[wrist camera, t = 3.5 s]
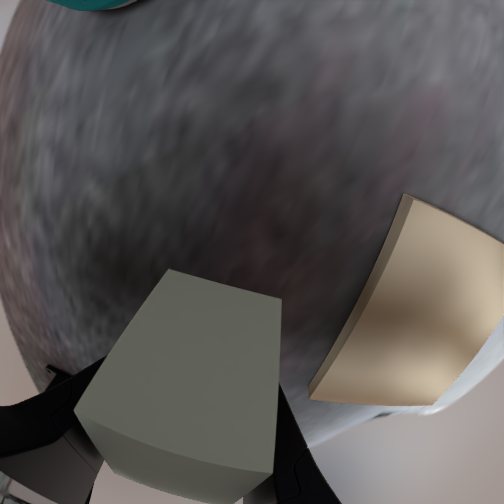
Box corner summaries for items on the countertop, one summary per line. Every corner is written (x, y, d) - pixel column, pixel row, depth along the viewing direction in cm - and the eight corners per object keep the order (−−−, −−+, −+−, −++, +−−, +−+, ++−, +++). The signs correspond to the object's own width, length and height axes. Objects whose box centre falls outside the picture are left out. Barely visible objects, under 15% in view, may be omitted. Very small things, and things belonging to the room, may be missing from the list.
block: (248, 384, 11) (228, 507, 6) (163, 360, 11) (114, 473, 6) (281, 299, 9) (272, 473, 4) (168, 268, 9) (73, 409, 4)
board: (428, 395, 15) (431, 405, 14) (308, 386, 15) (308, 398, 14) (522, 254, 10) (531, 261, 9) (403, 192, 10) (413, 198, 9)
